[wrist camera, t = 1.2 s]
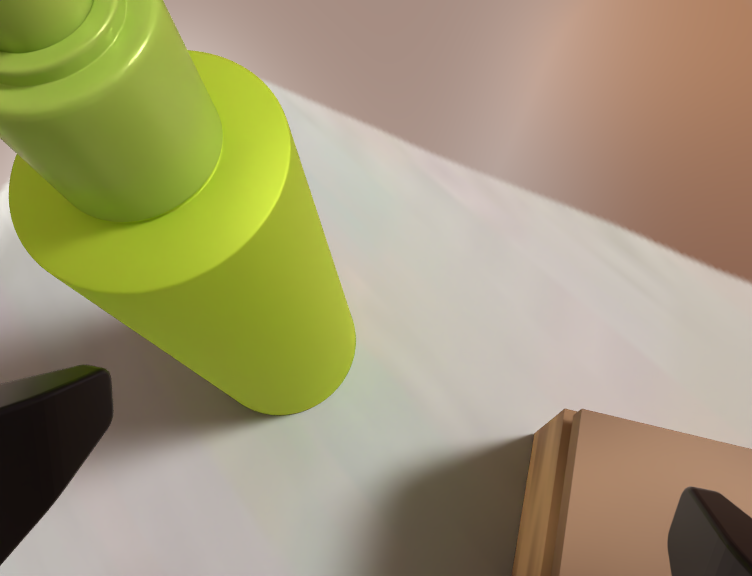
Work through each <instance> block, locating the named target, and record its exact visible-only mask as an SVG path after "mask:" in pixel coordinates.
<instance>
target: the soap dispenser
mask: <svg viewBox="0 0 752 576" xmlns="http://www.w3.org/2000/svg"><path fill="white" fill-rule="evenodd" d="M0 138H1V139H2V140H3V141H4V142H5V143H6V144H7V145H8V146H9V147H10V148H12V149H13V150H14V151H15V152H16V153H17V155H16V157H15V160H14V164H13V167H12V172H11V176H10V183H9V207H10V213H11V218H12V222H13V225H14V228H15V230H16V233H17V235H18V237H19V239H20V241H21V243H22V244H23V246H24V247H25V249H26V250H27V252H28V253H29V254H30V255H31V257H32V258H33V259H34V260H35V261H36V262H37V263H38V264H39V265H40V266H41V267H42V268H44V269H45V270H46V271H47V272H49V273H50V274H52V275H53V276H54V277H56V278H57V279H59V280H60V281H62V282H63V283H65V284H66V285H68V286H69V287H71V288H72V289H74V290H75V291H76V292H78V293H79V294H81V295H82V296H84V297H85V298H87V299H88V300H90V301H91V302H93V303H94V304H96V305H97V306H98V307H100V308H101V309H103V310H104V311H106V312H107V313H109V314H110V315H112V316H113V317H115V318H116V319H118V320H119V321H120V322H122V323H123V324H125V325H126V326H128V327H129V328H131V329H132V330H134V331H135V332H137V333H138V334H139V335H141V336H142V337H144V338H145V339H147V340H148V341H150V342H151V343H153V344H154V345H156V346H157V347H159V348H160V349H161V350H163V351H164V352H166V353H167V354H169V355H170V356H172V357H173V358H175V359H176V360H178V361H179V362H181V363H182V364H183V365H185V366H186V367H188V368H189V369H191V370H192V371H194V372H195V373H197V374H198V375H200V376H201V377H203V378H204V379H205V380H207V381H208V382H210V383H211V384H213V385H214V386H216V387H217V388H219V389H220V390H222V391H223V392H225V393H226V394H227V395H229V396H230V397H232V398H233V399H235V400H236V401H238V402H239V403H241V404H242V405H244V406H246V407H247V408H249V409H252V410H254V411H257V412H260V413H264V414H270V415H289V414H295V413H299V412H302V411H305V410H308V409H310V408H312V407H314V406H316V405H318V404H319V403H321V402H322V401H324V400H325V399H327V398H328V397H329V396H330V395H331V394H332V393H333V392H334V391H335V390H336V389H337V388H338V387H339V386H340V384H341V383H342V382H343V380H344V379H345V377H346V375H347V373H348V371H349V369H350V367H351V364H352V361H353V358H354V354H355V347H356V335H355V328H354V323H353V320H352V317H351V314H350V311H349V308H348V305H347V302H346V299H345V296H344V292H343V289H342V286H341V283H340V280H339V277H338V274H337V271H336V268H335V265H334V262H333V259H332V256H331V253H330V250H329V247H328V244H327V241H326V238H325V235H324V232H323V228H322V225H321V222H320V219H319V216H318V213H317V210H316V207H315V204H314V201H313V198H312V195H311V192H310V189H309V186H308V183H307V180H306V177H305V174H304V171H303V168H302V165H301V161H300V158H299V155H298V152H297V149H296V146H295V143H294V140H293V137H292V134H291V131H290V128H289V125H288V122H287V119H286V116H285V114H284V111H283V109H282V107H281V105H280V103H279V102H278V100H277V98H276V97H275V95H274V94H273V93H272V91H271V90H270V89H269V88H268V87H267V85H266V84H265V83H264V82H263V81H262V80H260V79H259V78H258V77H257V76H256V75H255V74H253V73H252V72H250V71H249V70H248V69H246V68H244V67H243V66H241V65H239V64H237V63H235V62H233V61H231V60H228V59H226V58H223V57H220V56H217V55H213V54H209V53H204V52H198V51H190V50H187V49H186V47H185V45H184V42H183V40H182V39H181V36H180V34H179V32H178V30H177V28H176V26H175V24H174V22H173V20H172V18H171V16H170V14H169V12H168V10H167V8H166V6H165V4H164V2H163V0H0Z"/></svg>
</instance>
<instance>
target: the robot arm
mask: <svg viewBox="0 0 752 576" xmlns="http://www.w3.org/2000/svg"><path fill="white" fill-rule="evenodd" d="M112 418H113V399H112V385H111V376H110V373H109V372H108V371H107V370H106V369H104V368H100V367H95V366H90V365H78V366H74V367H70V368H66V369H62V370H57V371H53V372H49V373H45V374H40V375H36V376H32V377H28V378H23V379H19V380H15V381H11V382H7V383H2V384H0V565H1V564H2V563H3V562H4V561H5V560H6V559H7V557H8V556H9V555H10V554H11V553H12V552H13V550H14V549H15V548H16V547H17V546H18V545H19V544H20V542H21V541H22V540H23V539H24V538H25V537H26V535H27V534H28V533H29V532H30V531H31V530H32V529H33V527H34V526H35V525H36V524H37V523H38V522H39V520H40V519H41V518H42V517H43V516H44V515H45V513H46V512H47V511H48V510H49V509H50V507H51V506H52V505H53V504H54V503H55V501H56V500H57V499H58V497H59V496H60V495H61V493H62V492H63V491H64V489H65V488H66V487H67V485H68V484H69V482H70V481H71V480H72V478H73V477H74V475H75V474H76V473H77V471H78V470H79V468H80V467H81V466H82V464H83V463H84V461H85V460H86V459H87V457H88V456H89V454H90V453H91V452H92V450H93V449H94V447H95V446H96V445H97V443H98V442H99V440H100V439H101V437H102V436H103V435H104V433H105V432H106V430H107V429H108V427H109V426H110V424H111V421H112ZM667 548H668V555H669V562H670V568H671V575H672V576H752V518H751V517H750V516H749V515H747V514H746V513H745V512H744V511H742V510H741V509H740V508H738V507H737V506H736V505H735V504H733V503H732V502H731V501H730V500H728V499H727V498H726V497H725V496H723V495H722V494H721V493H719V492H717V491H713V490H708V489H703V488H698V487H693V486H689V487H687V488H685V489H684V491H683V492H682V494H681V496H680V499H679V502H678V505H677V508H676V511H675V514H674V517H673V520H672V523H671V526H670V529H669V533H668V540H667Z"/></svg>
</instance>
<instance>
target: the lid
mask: <svg viewBox="0 0 752 576" xmlns="http://www.w3.org/2000/svg"><path fill="white" fill-rule="evenodd" d="M689 486H693V487H698V488H703V489H708V490H713V491H717V492H719V493H721V494H722V495H723V496H725V497H726V498H727V499H728V500H730V501H731V502H732V503H733V504H735V505H736V506H737V507H738V508H740V509H741V510H742V511H744V512H745V513H746V514H747V515H749V516H750V517H751V518H752V449H749V448H744V447H740V446H736V445H732V444H728V443H723V442H719V441H715V440H711V439H707V438H702V437H698V436H694V435H690V434H686V433H681V432H677V431H673V430H669V429H665V428H660V427H656V426H652V425H648V424H644V423H640V422H635V421H631V420H627V419H623V418H619V417H614V416H610V415H606V414H602V413H598V412H593V411H589V410H585V409H581V410H580V411H578V412H577V413H576V414H574V415H573V421H572V428H571V435H570V442H569V449H568V456H567V463H566V470H565V477H564V484H563V492H562V499H561V506H560V513H559V520H558V527H557V534H556V541H555V548H554V555H553V563H552V570H551V576H672V575H671V568H670V562H669V555H668V548H667V540H668V533H669V529H670V526H671V523H672V520H673V517H674V514H675V511H676V508H677V505H678V502H679V499H680V496H681V494H682V492H683V491H684V489H685V488H687V487H689Z"/></svg>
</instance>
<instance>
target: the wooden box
mask: <svg viewBox="0 0 752 576" xmlns="http://www.w3.org/2000/svg"><path fill="white" fill-rule="evenodd" d="M576 413H577V411H573V410H568V409H564V410H563V411H561V412H560V413H559V414H558V415H556V416H555V417H554V418H553V419H552V420H550V421H549V422H548V423H547V424H545V425H544V426H543V427H542V428H540V429H539V430H538V431H537V432H536V433H535V434H534V440H533V446H532V452H531V459H530V465H529V471H528V477H527V483H526V489H525V496H524V502H523V508H522V514H521V520H520V526H519V532H518V539H517V545H516V551H515V557H514V563H513V569H512V576H551V570H552V563H553V555H554V548H555V541H556V534H557V527H558V520H559V513H560V506H561V499H562V492H563V484H564V477H565V470H566V463H567V456H568V449H569V442H570V435H571V428H572V421H573V415H574V414H576Z"/></svg>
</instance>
